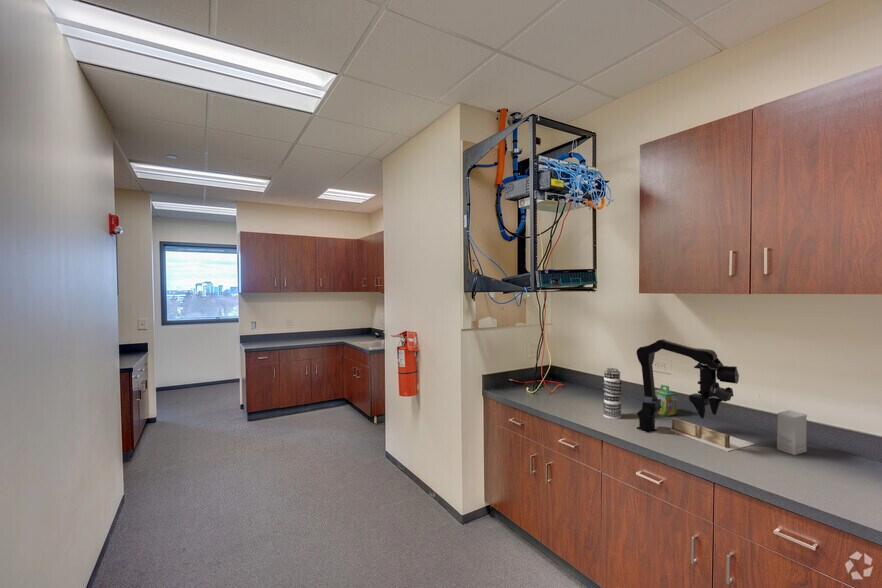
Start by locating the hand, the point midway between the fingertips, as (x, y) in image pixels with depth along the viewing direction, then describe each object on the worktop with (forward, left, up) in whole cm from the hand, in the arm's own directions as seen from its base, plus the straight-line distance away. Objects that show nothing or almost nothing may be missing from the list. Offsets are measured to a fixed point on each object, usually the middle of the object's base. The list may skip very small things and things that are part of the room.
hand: (708, 416), depth 167 cm
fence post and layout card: (+10, +6, -13) cm, 17 cm away
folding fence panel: (+4, 0, -12) cm, 13 cm away
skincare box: (+25, -17, -13) cm, 33 cm away
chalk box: (+21, +38, -13) cm, 45 cm away
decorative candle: (-8, +45, -13) cm, 47 cm away
